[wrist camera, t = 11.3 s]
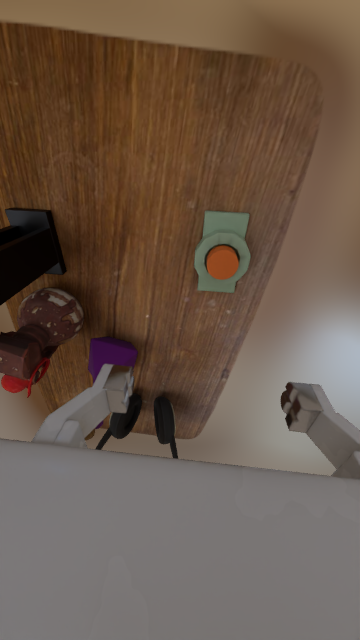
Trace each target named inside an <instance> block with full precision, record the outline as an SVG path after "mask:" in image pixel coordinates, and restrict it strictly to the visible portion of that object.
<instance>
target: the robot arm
mask: <svg viewBox="0 0 360 640" xmlns="http://www.w3.org/2000/svg"><path fill="white" fill-rule="evenodd" d="M133 372H134V371H133V367H130V366H122V365H113V364H104V365H103V366H102V368H101V370H100V372H99V374H98V376H97V378H96V380H95V382H94V384H93V386H92V388H87V389H86V390H85V391H83V392H82V393H80V394H79V395H77V396H76V397H75V398H73V399H72V400H70V401H69V402H67V403H66V404H64V405H63V406H62V407H60V408H59V409H57V410H56V411H54V412H53V413H51V414H50V415H49V416H47V417H46V419H45V421H44V422H43V424H42V425H41V427H40V429H39V430H38V432H37V434H36V435H35V437H34V438H33V440H32V441H31V442H26V441H18V440H9V439H0V640H360V430H359V429H357V428H356V427H355V426H354V425H353V424H351V423H350V422H349V421H348V420H346V419H345V418H344V417H343V416H342V415H340V414H339V413H335V411H334V409H333V407H332V405H331V404H330V402H329V400H328V398H327V396H326V394H325V392H324V391H323V389H322V387H321V386H320V385H315V384H306V383H294V382H289V383H287V385H286V389H287V390H286V391H284V392H283V393H282V396H281V407H282V410H283V411H284V412H285V413H286V414H287V416H286V418H285V419H286V422H287V426H288V429H289V431H296V432H303V433H306V434H307V435H308V436H309V437H310V439H312V441H313V442H314V443H315V445H316V446H317V447H318V448H319V449H320V450H321V451H322V453H323V454H324V455H325V456H326V457H327V458H328V460H329V461H330V462H331V463H332V464H333V465H334V467H335V468H336V469H337V470H336V471H335V472H334V473H333V474H332V475H331V476H326V475H317V474H308V473H299V472H290V471H281V470H273V469H264V468H255V467H246V466H238V465H228V464H220V463H211V462H202V461H193V460H184V459H176V458H167V457H158V456H149V455H140V454H132V453H123V452H114V451H105V450H96V449H88V448H87V445H86V442H85V439H84V438H85V437H86V436H87V435H88V434H89V433H90V432H91V431H92V430H93V429H94V428H95V427H96V426H97V425H98V424H99V423H100V422H101V421H102V420H103V419H104V418H105V417H106V416H107V415H108V414H109V413H110V412H116V413H126V412H127V409H128V406H129V403H130V401H129V397H130V396H131V395H132V393H133V389H134V377H133V376H132V375H133Z"/></svg>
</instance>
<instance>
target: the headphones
mask: <svg viewBox="0 0 360 640" xmlns="http://www.w3.org/2000/svg"><path fill="white" fill-rule="evenodd" d="M129 401H130V403H129V406H128V409H127V412H126V413H116V412H112V414H111V417H110V420H109V425H110V427H109V428H108V430H107V432H106V433H105V434H104V436H103V438H102V439H101V441H100V442H99V444H98V446H97V447H96V450H101V449H102V447H103V446H104V444H105V443H106V442H107V440H108V439H109V438H110V436H111V435H112V436H114V437H115V438H117V439H122V438H124V437H125V436H127V435H128V434H129V433H130V431H131V430H132V428H133V427H134V425H135V423H136V421H137V419H138V416H139V413H140V410H141V406H142V400H141V397H140V396H139V395H138V394H135V393H132V395H131V396H130V397H129ZM154 417H155V426H156V433H157V437H158V440H159V442H160V443H161V444H168V443H170V447H171V451H172V455H173V458H176V459H178V456H177V448H176V443H175V438H174V435H175V431H176V423H175V415H174V410H173V407H172V404H171V402H170V401H169V400H168V399H167V398H165V397H158V398H156V399H155V401H154Z"/></svg>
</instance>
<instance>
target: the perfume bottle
mask: <svg viewBox="0 0 360 640" xmlns="http://www.w3.org/2000/svg"><path fill="white" fill-rule="evenodd" d="M137 354H138V351H137V350H136V349H135V347H134V346H133V345H132V344H131V343H130V342H127V341H123V340H119V339H116V338H112V337H101V338H93V339H91V343H90V354H89V366H88V370H89V372H90V373H91V374H92V376H93V384H94V382H95V380H96V378H97V376H98V374H99V372H100V370H101V368H102V366H103V365H104V364H113V365H122V366H130V367H133V369H134V365H135V362H136V358H137ZM102 424H103V420H102V421H101V422H100V423H99V424H98V425H97V426H96V427H95V428H94V429H93V430H92V431H91V432H90V433H89V434H88V435H87V436H86V437H85V438H84V439H85V440H88V439H91V438H92V437H93V436H94V433H95V429H98V428H100V427H101V426H102Z"/></svg>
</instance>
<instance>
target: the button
mask: <svg viewBox="0 0 360 640" xmlns="http://www.w3.org/2000/svg"><path fill="white" fill-rule="evenodd" d="M238 266H239V262H238V258H237V255H236V253H235V251H234V250H233V249H232V248H231V247H229V246H225V245H221V246H217V247H215V248H213V249H212V250H211V251H210V252H209V254H208V256H207V270H208V272H209V274H210V275H211V276H212V277H214V278H216V279H219V280H224V279H228V278H230V277H232V276H233V275H234V274H235V273H236V271H237V269H238Z"/></svg>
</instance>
